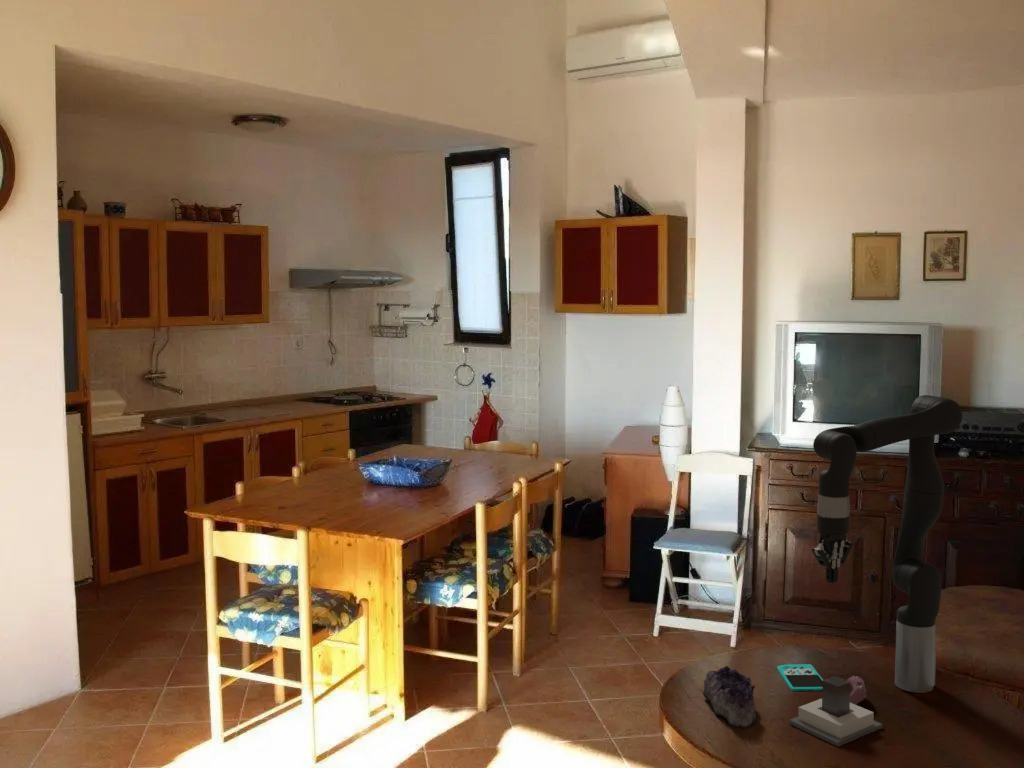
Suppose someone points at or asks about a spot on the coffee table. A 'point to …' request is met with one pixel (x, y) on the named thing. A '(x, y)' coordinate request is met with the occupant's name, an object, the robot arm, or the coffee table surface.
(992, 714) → the coffee table surface
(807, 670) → the handheld game console
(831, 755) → the coffee table surface
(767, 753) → the coffee table surface
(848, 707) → the plug
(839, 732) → the socket
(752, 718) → the geode
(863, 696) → the video game controller
